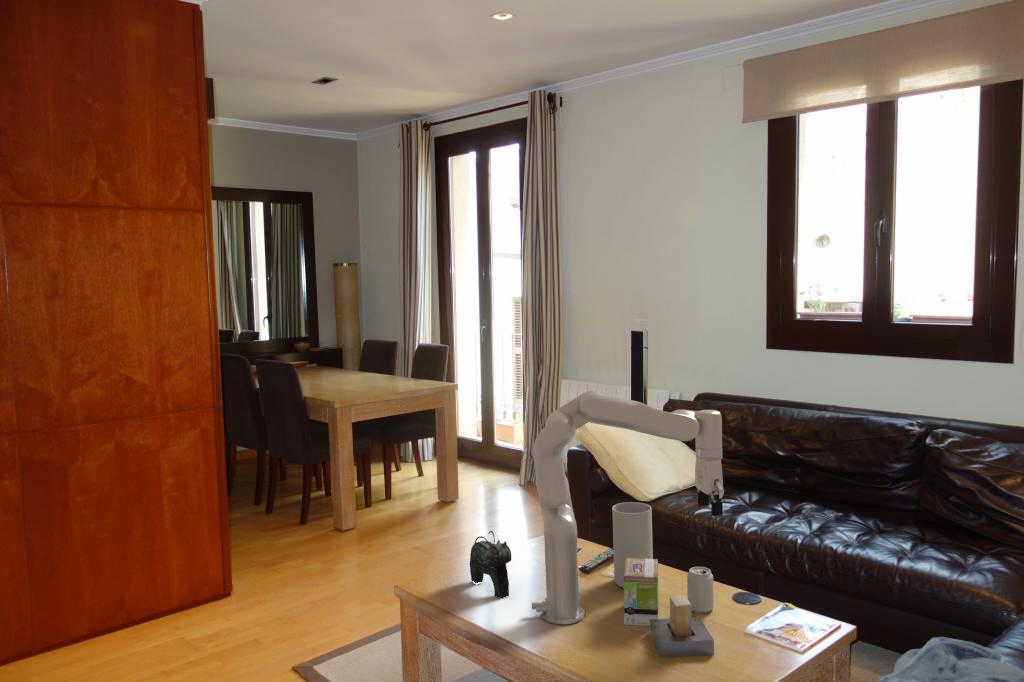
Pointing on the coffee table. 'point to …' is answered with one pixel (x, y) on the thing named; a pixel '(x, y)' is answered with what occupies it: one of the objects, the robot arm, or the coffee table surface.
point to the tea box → (640, 591)
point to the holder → (681, 639)
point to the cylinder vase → (631, 535)
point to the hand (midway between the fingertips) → (710, 510)
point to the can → (700, 589)
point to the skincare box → (680, 616)
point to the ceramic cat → (491, 564)
